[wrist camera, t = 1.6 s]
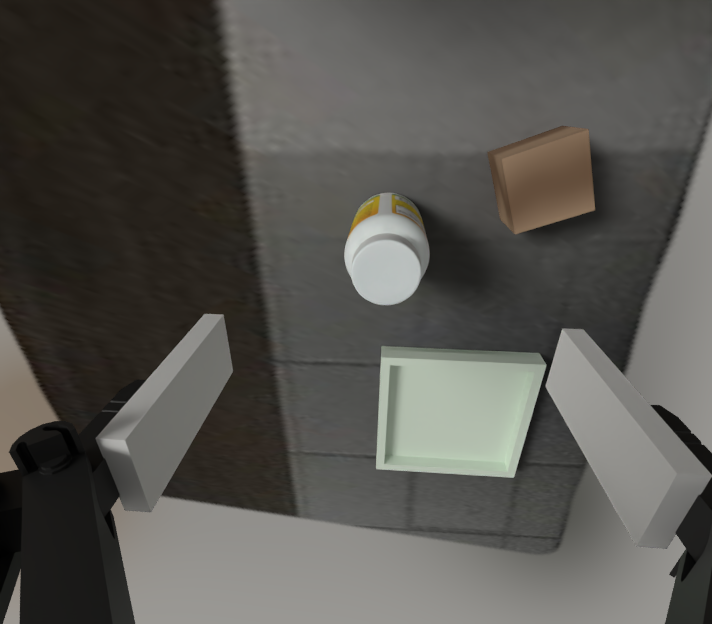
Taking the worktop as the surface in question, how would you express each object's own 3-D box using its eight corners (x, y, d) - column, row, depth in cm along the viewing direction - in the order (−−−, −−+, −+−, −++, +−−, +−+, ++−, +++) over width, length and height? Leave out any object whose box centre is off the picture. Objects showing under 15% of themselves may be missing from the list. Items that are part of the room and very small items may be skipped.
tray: (381, 346, 36) (381, 357, 34) (539, 352, 35) (546, 364, 33) (376, 455, 42) (376, 469, 41) (508, 463, 41) (513, 477, 40)
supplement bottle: (422, 189, 29) (437, 225, 20) (421, 258, 31) (434, 315, 23) (350, 193, 29) (335, 229, 21) (354, 260, 32) (343, 317, 23)
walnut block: (486, 152, 28) (501, 159, 24) (561, 125, 27) (588, 129, 23) (499, 218, 30) (515, 234, 26) (569, 197, 29) (595, 210, 25)
